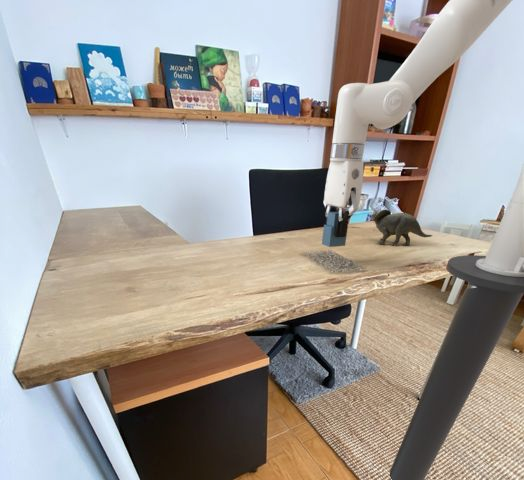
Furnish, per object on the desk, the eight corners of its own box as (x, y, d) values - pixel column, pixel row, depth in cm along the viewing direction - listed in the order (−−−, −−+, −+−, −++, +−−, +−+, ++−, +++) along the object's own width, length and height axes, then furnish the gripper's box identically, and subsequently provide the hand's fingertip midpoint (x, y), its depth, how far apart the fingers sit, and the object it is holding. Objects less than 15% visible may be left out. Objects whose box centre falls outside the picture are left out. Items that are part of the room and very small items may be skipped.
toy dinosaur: (429, 247, 99) (441, 210, 93) (422, 252, 94) (434, 213, 88) (367, 237, 111) (374, 204, 105) (358, 240, 105) (364, 206, 99)
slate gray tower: (346, 246, 80) (351, 213, 75) (330, 247, 78) (334, 213, 74) (337, 242, 83) (341, 211, 79) (321, 244, 82) (325, 211, 78)
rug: (333, 274, 74) (334, 270, 74) (301, 253, 90) (301, 250, 89) (366, 270, 77) (367, 267, 76) (330, 251, 92) (330, 248, 92)
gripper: (383, 154, 64) (365, 241, 74) (340, 154, 77) (330, 228, 87) (354, 153, 62) (340, 243, 72) (315, 153, 75) (308, 229, 85)
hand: (335, 234), depth 79 cm, fingers closed on slate gray tower, 4 cm apart
